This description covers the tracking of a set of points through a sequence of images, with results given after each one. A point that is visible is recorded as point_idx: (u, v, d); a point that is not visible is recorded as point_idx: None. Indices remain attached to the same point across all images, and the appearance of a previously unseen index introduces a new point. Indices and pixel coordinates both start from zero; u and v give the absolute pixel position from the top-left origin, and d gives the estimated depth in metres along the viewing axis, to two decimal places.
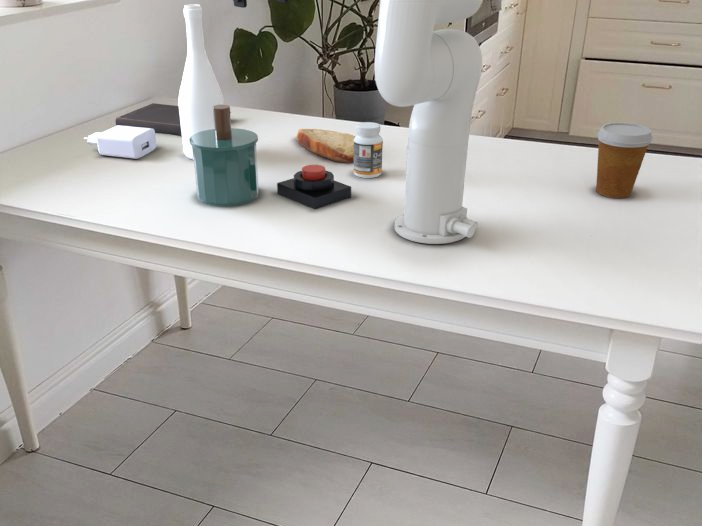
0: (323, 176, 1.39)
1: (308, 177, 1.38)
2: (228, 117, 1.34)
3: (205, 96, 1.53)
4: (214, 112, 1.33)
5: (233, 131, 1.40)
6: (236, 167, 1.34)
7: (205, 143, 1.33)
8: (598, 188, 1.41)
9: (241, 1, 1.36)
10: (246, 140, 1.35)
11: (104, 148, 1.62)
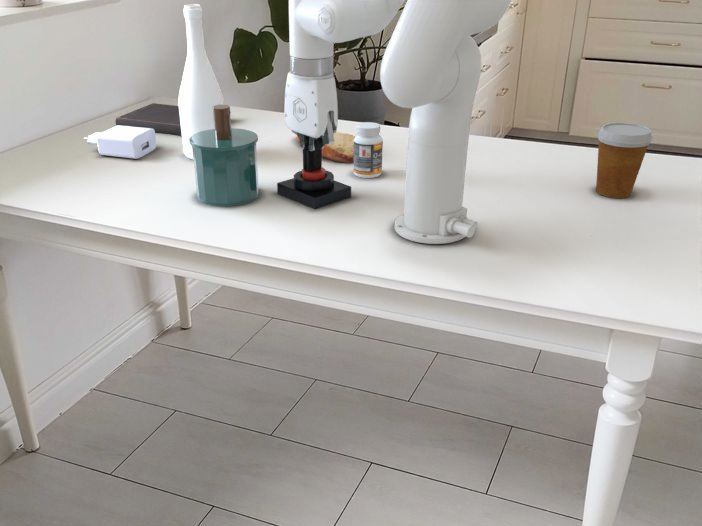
0: None
1: (308, 179, 1.38)
2: (228, 117, 1.34)
3: (205, 96, 1.53)
4: (214, 112, 1.33)
5: (233, 131, 1.40)
6: (236, 167, 1.34)
7: (205, 143, 1.33)
8: (598, 188, 1.41)
9: None
10: (246, 140, 1.35)
11: (104, 148, 1.62)
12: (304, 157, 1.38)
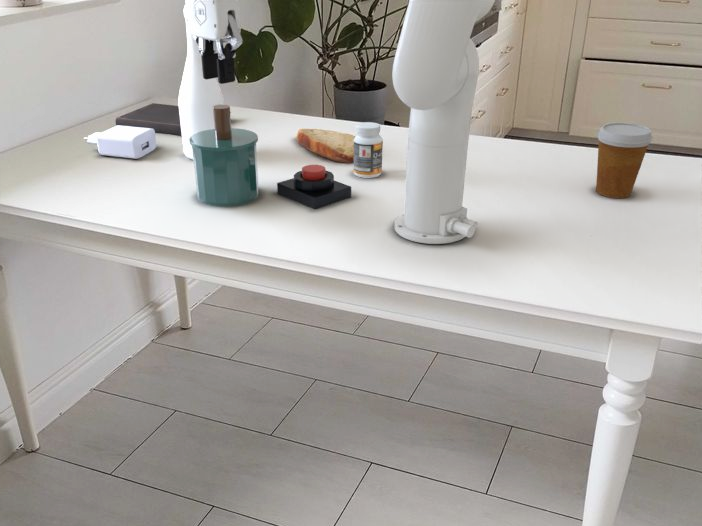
0: (323, 176, 1.39)
1: (308, 177, 1.38)
2: (228, 117, 1.34)
3: (205, 96, 1.53)
4: (214, 112, 1.33)
5: (233, 131, 1.40)
6: (236, 167, 1.34)
7: (205, 143, 1.33)
8: (598, 188, 1.41)
9: None
10: (246, 140, 1.35)
11: (104, 148, 1.62)
12: (203, 64, 1.30)
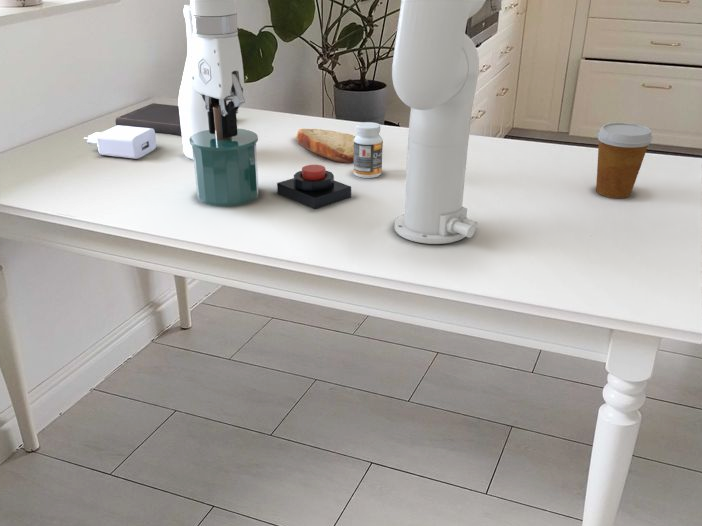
0: (323, 176, 1.39)
1: (308, 177, 1.38)
2: None
3: None
4: (214, 112, 1.33)
5: None
6: (236, 167, 1.34)
7: (205, 143, 1.33)
8: (598, 188, 1.41)
9: None
10: (246, 140, 1.35)
11: (104, 148, 1.62)
12: (209, 120, 1.35)
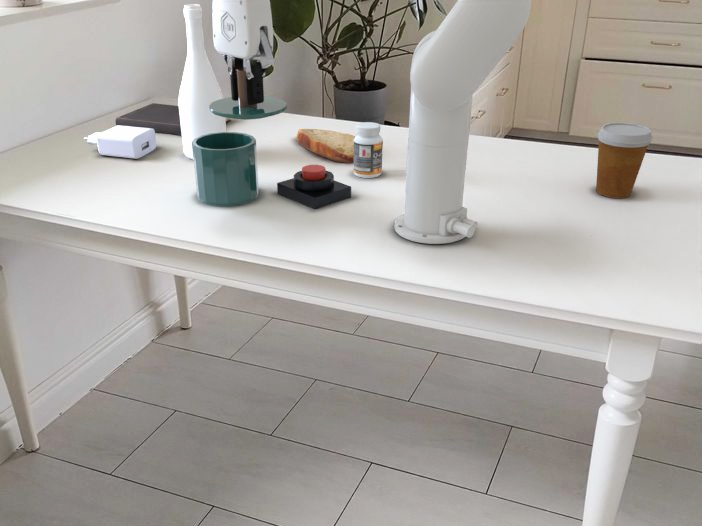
0: (323, 176, 1.39)
1: (308, 177, 1.38)
2: None
3: (205, 96, 1.53)
4: (238, 75, 1.17)
5: None
6: (236, 167, 1.34)
7: (227, 110, 1.18)
8: (598, 188, 1.41)
9: None
10: (274, 107, 1.19)
11: (104, 148, 1.62)
12: (232, 84, 1.19)
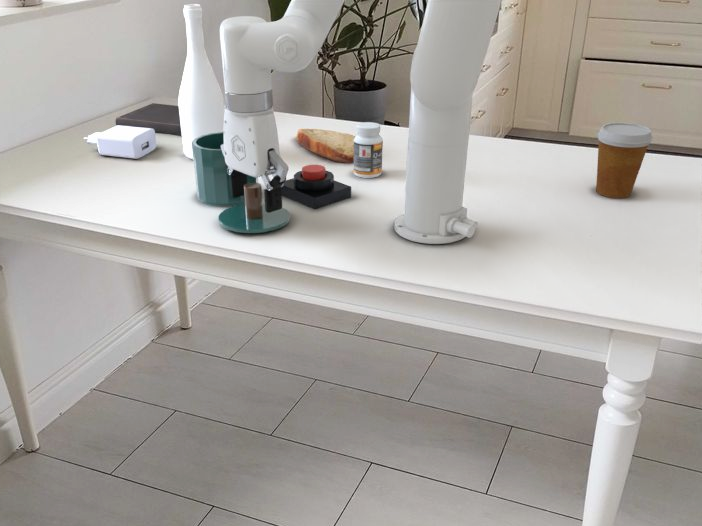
0: (323, 176, 1.39)
1: (308, 177, 1.38)
2: (259, 196, 1.28)
3: (205, 96, 1.53)
4: (245, 191, 1.27)
5: (263, 207, 1.34)
6: None
7: (235, 224, 1.27)
8: (598, 188, 1.41)
9: None
10: (278, 220, 1.29)
11: (104, 148, 1.62)
12: (231, 184, 1.30)
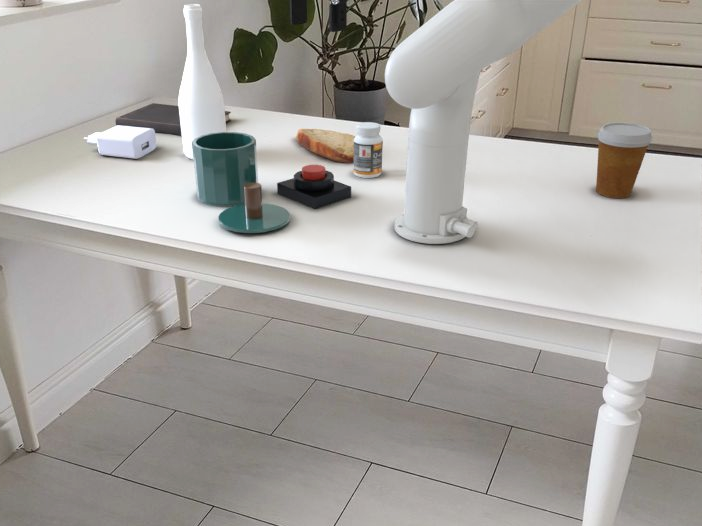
0: (323, 176, 1.39)
1: (308, 177, 1.38)
2: (259, 196, 1.28)
3: (205, 96, 1.53)
4: (245, 191, 1.27)
5: (263, 207, 1.34)
6: (236, 167, 1.34)
7: (235, 224, 1.27)
8: (598, 188, 1.41)
9: None
10: (278, 220, 1.29)
11: (104, 148, 1.62)
12: (291, 8, 1.23)
